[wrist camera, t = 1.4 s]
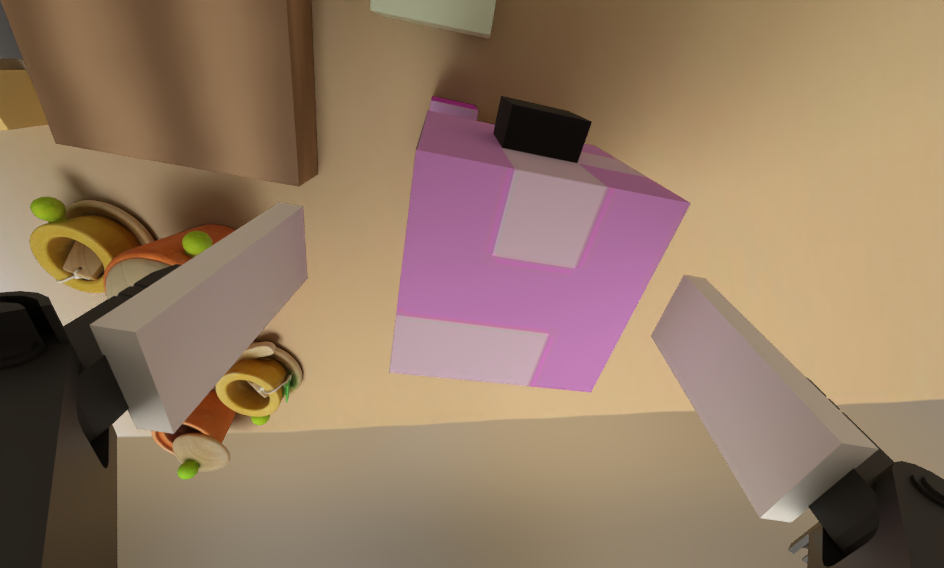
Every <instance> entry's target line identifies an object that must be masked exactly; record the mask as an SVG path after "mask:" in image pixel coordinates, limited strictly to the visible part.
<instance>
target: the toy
mask: <svg viewBox="0 0 944 568" xmlns="http://www.w3.org/2000/svg"><path fill="white" fill-rule="evenodd" d="M478 112H479V110H478V109H477V107H476V105H472V104H468V103H463V102H459V101H454V100H450V99H445V98H441V97H436V96H432V98H431V103H430V111H428V112H427V115H426V118H425V122H424V125H423V128H422V132H421V135H420V138H419V142H418V145H417V148H416V154H415V163H414V171H413V179H412V188H411V196H410V204H409V212H408V221H407V229H406V237H405V246H404V254H403V262H402V271H401V279H400V287H399V296H398V304H397V312H396V320H395V329H394V337H393V345H392V354H391V362H390V370H389V373H398V374H409V375H419V376H429V377H439V378H450V379H460V380H470V381H480V382H490V383H501V384H511V385H521V386H531V387H542V388H552V389H562V390H572V391H583V392H591V391H592V389H593V387H594V385H595V384H596V382H597V380H598V378H599V376H600V374H601V372H602V370H603V368H604V367H605V365H606V363H607V361H608V359H609V357H610V355H611V353H612V351H613V349H614V348H615V346H616V344H617V342H618V340H619V338H620V336H621V334H622V332H623V331H624V329H625V327H626V325H627V323H628V321H629V319H630V317H631V315H632V314H633V312H634V310H635V308H636V306H637V304H638V302H639V300H640V298H641V296H642V295H643V293H644V291H645V289H646V287H647V285H648V283H649V281H650V279H651V278H652V276H653V274H654V272H655V270H656V268H657V266H658V264H659V262H660V261H661V259H662V257H663V255H664V253H665V251H666V249H667V247H668V245H669V243H670V242H671V240H672V238H673V236H674V234H675V232H676V230H677V228H678V226H679V225H680V223H681V221H682V219H683V217H684V215H685V213H686V211H687V209H688V208H689V206H690V204H691V203H689V202H688V201H686V200H684V199H683V198H681V197H679V196H678V195H676V194H674V193H673V192H671V191H669V190H668V189H666V188H664V187H663V186H661V185H659V184H658V183H656V182H654V181H653V180H651V179H649V178H648V177H646V176H644V175H643V174H641V173H639V172H638V171H636V170H634V169H633V168H631V167H629V166H628V165H626V164H624V163H623V162H621V161H619V160H618V159H616V158H614V157H613V156H611V155H609V154H608V153H606V152H604V151H603V150H601V149H599V148H598V147H596V146H592V145H588V144H584V143H585V140H586V137H587V134H588V131H589V128H590V125H591V121H589V120H587V119H584V118H582V117H580V116H578V115H575V114H573V113H571V112H569V111H565V110H560V109H556V108H552V107H547V106H543V105H538V104H534V103H530V102H525V101H521V100H516V99H512V98H508V97H503V96H501V100H500V104H499V109H498V113H497V118H496V123H495V125H494V124H489V123H485V122H480V121H477V117H478Z"/></svg>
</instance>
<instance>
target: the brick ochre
mask: <svg viewBox="0 0 944 568" xmlns="http://www.w3.org/2000/svg"><path fill="white" fill-rule="evenodd" d="M40 125H48V122H47V119H46V117H45V114H44V112H43V109H42V106H41V104H40V101H39V99H38V96H37V94H36V91H35V88H34V86H33V83H32V81H31V78H30V77H29V75H28V73H27V72H26V70H0V130H10V129H18V128H25V127H33V126H40Z"/></svg>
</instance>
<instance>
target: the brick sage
mask: <svg viewBox="0 0 944 568" xmlns="http://www.w3.org/2000/svg"><path fill="white" fill-rule="evenodd" d="M495 4H496V0H371V6H370V10H371V11H373V12H375V13H377V14H379V15H381V16H383V17H386V18H391V19H396V20H401V21H406V22H411V23H415V24H420V25H425V26H430V27H435V28H440V29H444V30H449V31H454V32H459V33H464V34H469V35H474V36H478V37H483V38H488V39H490V35H491V29H492V23H493V16H494V10H495Z"/></svg>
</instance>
